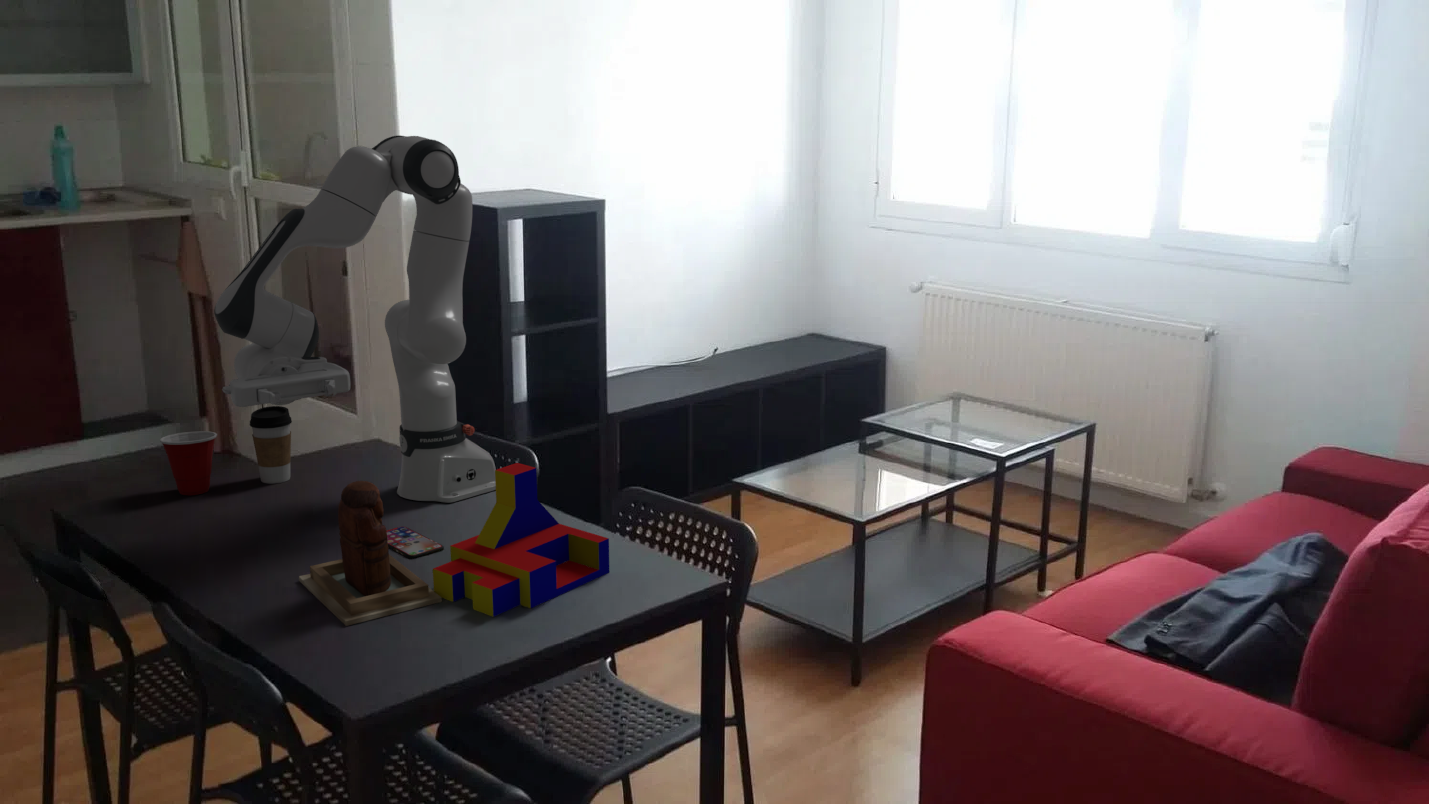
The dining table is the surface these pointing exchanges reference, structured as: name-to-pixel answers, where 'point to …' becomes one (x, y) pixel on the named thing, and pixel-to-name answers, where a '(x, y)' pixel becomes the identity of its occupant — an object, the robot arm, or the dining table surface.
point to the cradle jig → (358, 608)
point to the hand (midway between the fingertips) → (304, 395)
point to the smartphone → (411, 543)
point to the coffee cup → (272, 443)
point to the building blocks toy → (520, 552)
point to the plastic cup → (190, 460)
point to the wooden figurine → (364, 538)
